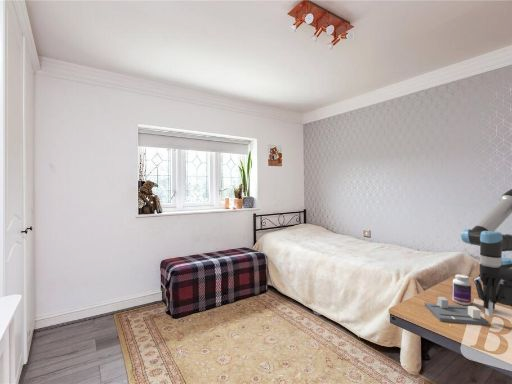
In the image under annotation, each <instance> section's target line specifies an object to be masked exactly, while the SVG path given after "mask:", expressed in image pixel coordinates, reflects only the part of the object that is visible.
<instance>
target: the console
mask: <svg viewBox="0 0 512 384" xmlns="http://www.w3.org/2000/svg"><path fill="white" fill-rule="evenodd" d="M423 305H424V307H425V308H426V309H427V310H428V311H429V312H430V313H431V314H432V315H433V316H434V317H435V318H436V319H437V320H438V321H439V322H447V323H458V324H459V323H460V324H470V325H471V323H472V325H483V326H484V325H485V326H488V325H487V324H489V325H490V323H489V321H488V320H487V319H485V317H483V316H480V319H476V318H472V317H471V316H470V315H468V306H469V305H460V304H459V305H455V304H448V308H441V307H440V306H439V305H438V302H437V303H429V302H424V304H423Z"/></svg>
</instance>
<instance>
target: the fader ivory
mask: <svg viewBox="0 0 512 384" xmlns="http://www.w3.org/2000/svg"><path fill="white" fill-rule="evenodd" d="M467 306H468V315H470V316H471V317H472V318H476V319H480V316H481V313H482V312H481V309H479V308H478V307H477V306H475V305H467ZM481 317H482V316H481Z"/></svg>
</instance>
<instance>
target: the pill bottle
mask: <svg viewBox="0 0 512 384" xmlns="http://www.w3.org/2000/svg"><path fill="white" fill-rule="evenodd" d="M454 277H455V278H453V280H452V287H451V288H452V290H451V292H452V294H451V296H452V297H451V298H452V302H454V303H456V304H459V305H461V306H471V303H472V282H470V280H469V276H468V275H465V274H457V273H456V274H455V276H454Z"/></svg>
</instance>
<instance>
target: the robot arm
mask: <svg viewBox="0 0 512 384" xmlns="http://www.w3.org/2000/svg"><path fill="white" fill-rule="evenodd" d="M511 214H512V188H510V189H508V190H507V191H506V192H505V193H503V194H502V195H501V196H500V197H499V198H498V202H497V203H496V204H495V205H494V206H493V207H492V208H491V209H490V210H489V211H488V213H486V214H485V216H483V217H482V219H480V220H479V222H477V224H475V226H474V227H472V229H471V228H465V229H463V230H462V231H461V234H460V238H461V241H462V242H463V243H465V244H469V245H471V246H472V245H473V246H477V247H479V263H480V264H479V267H478V268H479V269H478V270H479V274H478V277H473V279H472V281H473V283H474V285H475V288H476V292H477V297H478V299H479V300H481V301H483V303H482V305H483V308H484V315H486V316H487V317H489V318H493V317H494V310H495V308H496V304H497V303H500V304H503V305H507V306H508V305H509V306H512V258H511V257H503V256H502V254H503V252H512V234H510V233H509V234H508V233H507V234H502V232H499V231H496V230H497V229H498V228H499V227H500V226H501V225H502V224H503V223H504V222H505V221H506V220H507V219H508V218H509V217H510V216H511Z"/></svg>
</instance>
